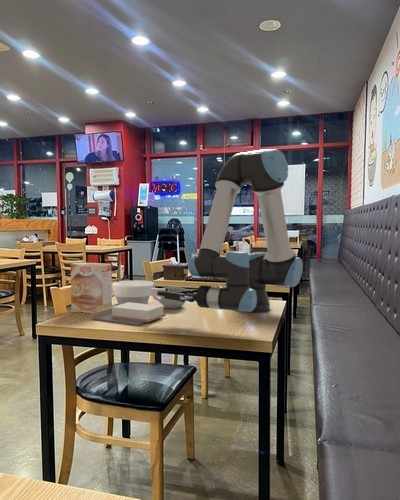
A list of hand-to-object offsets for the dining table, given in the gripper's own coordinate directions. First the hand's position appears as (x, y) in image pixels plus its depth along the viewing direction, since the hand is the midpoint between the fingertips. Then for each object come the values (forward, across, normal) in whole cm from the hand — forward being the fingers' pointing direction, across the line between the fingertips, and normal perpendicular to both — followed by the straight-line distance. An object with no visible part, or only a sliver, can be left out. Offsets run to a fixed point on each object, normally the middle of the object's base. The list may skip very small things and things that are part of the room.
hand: (152, 291), depth 145 cm
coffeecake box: (+30, -2, +11) cm, 32 cm away
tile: (-2, 0, +8) cm, 8 cm away
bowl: (+24, -22, +11) cm, 35 cm away
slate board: (+10, 0, +10) cm, 14 cm away
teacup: (+6, -23, +11) cm, 26 cm away
